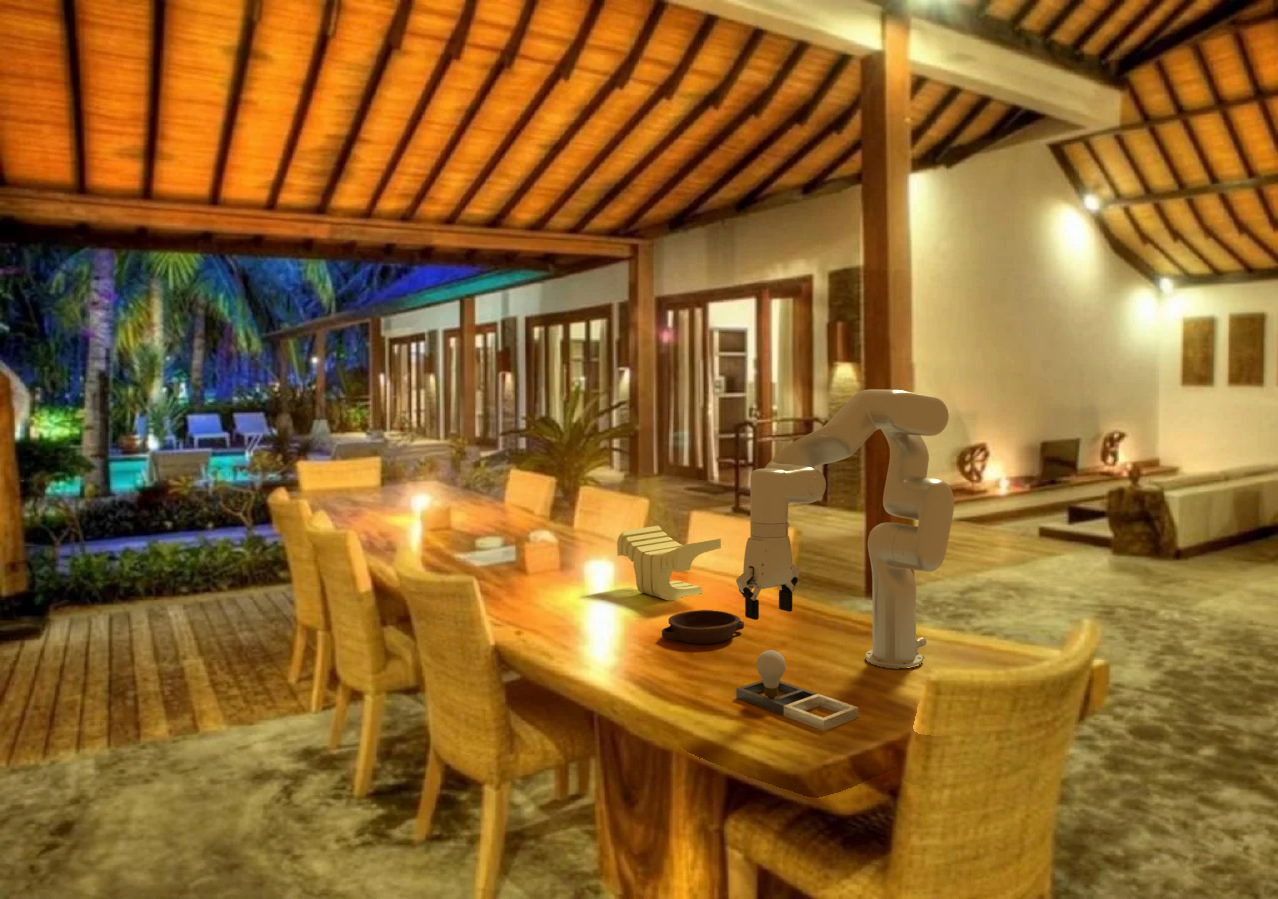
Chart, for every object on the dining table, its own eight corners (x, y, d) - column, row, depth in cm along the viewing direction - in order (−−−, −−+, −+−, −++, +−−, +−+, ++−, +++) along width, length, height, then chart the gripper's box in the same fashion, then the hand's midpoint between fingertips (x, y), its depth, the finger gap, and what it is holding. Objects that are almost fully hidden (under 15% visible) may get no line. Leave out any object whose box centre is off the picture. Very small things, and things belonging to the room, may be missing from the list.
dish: (759, 641, 227) (759, 622, 226) (676, 653, 219) (676, 632, 219) (729, 624, 243) (728, 605, 243) (651, 633, 236) (650, 614, 235)
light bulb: (783, 693, 190) (782, 646, 190) (788, 703, 185) (788, 654, 184) (754, 694, 190) (754, 646, 189) (759, 704, 184) (758, 655, 183)
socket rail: (770, 686, 194) (770, 677, 194) (858, 717, 176) (858, 707, 176) (736, 698, 188) (736, 688, 188) (823, 731, 170) (823, 720, 170)
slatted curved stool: (618, 588, 284) (616, 531, 282) (659, 581, 293) (658, 525, 291) (678, 608, 259) (677, 545, 258) (721, 599, 269) (720, 538, 267)
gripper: (784, 523, 193) (784, 604, 194) (724, 532, 182) (724, 617, 183) (812, 528, 187) (811, 611, 188) (752, 537, 176) (751, 625, 177)
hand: (769, 614), depth 186 cm, fingers open, 9 cm apart
